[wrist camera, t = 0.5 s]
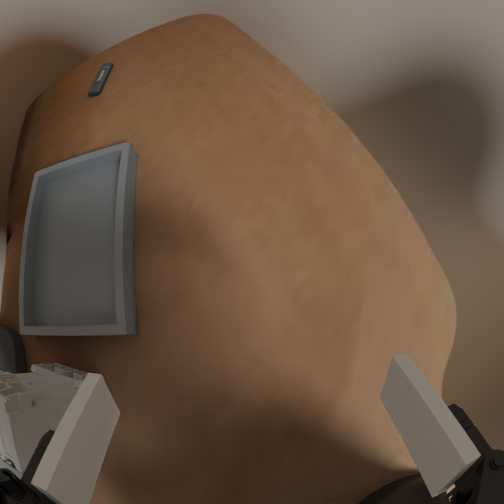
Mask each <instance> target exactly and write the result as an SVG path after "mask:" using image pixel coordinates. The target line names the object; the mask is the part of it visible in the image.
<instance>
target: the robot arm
mask: <svg viewBox="0 0 504 504" xmlns="http://www.w3.org/2000/svg"><path fill="white" fill-rule="evenodd" d="M380 398H381V400H382V402H383V404H384V405H385V407H386V409H387V411H388V413H389V414H390V416H391V418H392V420H393V422H394V424H395V426H396V427H397V429H398V431H399V433H400V435H401V437H402V439H403V441H404V442H405V444H406V446H407V448H408V450H409V452H410V454H411V456H412V458H413V460H414V462H415V464H416V466H417V468H418V470H419V472H420V474H421V475H415V476H410V477H406V478H403V479H400V480H398V481H395V482H393V483H391V484H389V485H387V486H385V487H383V488H381V489H380V490H378V491H376V492H375V493H373V494H372V495H370V496H369V497H368V498H366V499H365V500H364V501H362V502H361V503H360V504H504V451H502V450H499V449H498V450H493V449H492V448H491V447H490V446H489V445H488V443H487V442H486V440H485V439H484V438H483V436H482V435H481V434H480V432H479V431H478V429H477V428H476V427H475V426H474V425H473V423H472V421H471V420H470V419H469V417H468V416H467V415H466V413H465V412H464V410H463V409H461V408H460V407H458V406H457V405H455V404H452V405H450V406H448V407H447V406H446V404H445V403H444V402H443V400H442V399H441V397H440V396H439V395H438V393H437V392H436V391H435V389H434V388H433V387H432V386H431V384H430V383H429V382H428V380H427V379H426V378H425V376H424V375H423V374H422V373H421V371H420V370H419V369H418V367H417V366H416V365H415V364H414V362H413V361H412V360H411V359H410V357H409V356H408V355H407V354H406V353H405V354H401V355H397V356H393V357H392V361H391V364H390V367H389V371H388V374H387V377H386V380H385V383H384V386H383V389H382V392H381V395H380ZM119 416H120V411H119V409H118V407H117V405H116V403H115V401H114V399H113V397H112V395H111V393H110V391H109V389H108V387H107V385H106V383H105V381H104V378H103V376H102V374H95V373H88V374H87V376H86V378H85V379H84V381H83V383H82V384H81V386H80V388H79V389H78V391H77V393H76V395H75V396H74V398H73V400H72V402H71V403H70V405H69V407H68V409H67V411H66V412H65V414H64V416H63V418H62V420H61V422H60V424H59V425H58V427H57V429H56V431H53V430H49V431H48V432H46V433H45V434H44V435H43V436H42V438H41V440H40V441H39V443H38V447H36V449H35V451H34V454H33V455H32V457H31V459H30V461H29V463H28V465H27V467H26V469H25V472H24V474H23V476H22V477H21V479H19V478H18V477H17V476H16V475H15V474H14V473H13V472H12V471H11V470H9V469H7V468H1V469H0V504H90V501H91V498H92V494H93V491H94V488H95V485H96V482H97V478H98V475H99V472H100V469H101V466H102V463H103V460H104V457H105V455H106V452H107V449H108V446H109V443H110V440H111V438H112V435H113V432H114V429H115V427H116V424H117V421H118V419H119ZM453 484H455V486H456V487H455V488H454V489H452V490H451V491H450V492H449V493H448V494H447V492H446V490H447V489H448V488H449V487H450V486H452V485H453ZM451 495H452V497H451V498H449V497H450V496H451Z"/></svg>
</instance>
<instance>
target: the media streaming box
mask: <svg viewBox="0 0 504 504" xmlns="http://www.w3.org/2000/svg"><path fill="white" fill-rule="evenodd" d="M0 370H1V371H3V372H10V373H12V374H20V373H27V369H26V360H25V351H24V347H23V343H22V341H21V338H20V337H19V335H18V333H17V332H16V331H15V330H14V329H13V328H10V327H6V326H1V325H0Z"/></svg>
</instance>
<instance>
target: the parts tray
mask: <svg viewBox="0 0 504 504" xmlns="http://www.w3.org/2000/svg"><path fill="white" fill-rule="evenodd" d="M137 160H138V154H137V152H136V151H135V149H134V147H133V146H132V144H131V142H130V141H129V142H125V143H121V144H118V145H114V146H111V147H107V148H104V149H100V150H97V151H94V152H90V153H87V154H84V155H81V156H78V157H75V158H72V159H69V160H66V161H64V162H61V163H58V164H56V165H53V166H50V167H48V168H45V169H43V170H40V171H38V172H35V176H34V180H33V184H32V188H31V193H30V197H29V202H28V207H27V213H26V219H25V225H24V232H23V240H22V249H21V260H20V275H19V328H20V334H22V335H36V336H108V335H133V334H139V331H138V321H137V308H136V293H135V272H134V209H135V187H136V172H137Z"/></svg>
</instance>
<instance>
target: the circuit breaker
mask: <svg viewBox="0 0 504 504" xmlns="http://www.w3.org/2000/svg"><path fill="white" fill-rule="evenodd" d="M31 371H32V372H31V373H20V374H12V373H10V372H3V371H1V370H0V469H1V468H7V469H9V470H11V471H12V472H13V473H14V474H15V475H16V476H17V477H18V478H19V479H21V477H22V476H23V474H24V472H25V469H26V467H27V465H28V463H29V461H30V459H31V457H32V455H33V454H34V451H35V449H36V447H38V443H39V441H40V440H41V438H42V436H43V435H44V434H45V433H46V432H48V431H49V430H53V431H56V429H57V427H58V425H59V424H60V422H61V420H62V418H63V416H64V414H65V412H66V411H67V409H68V407H69V405H70V403H71V402H72V400H73V398H74V396H75V395H76V393H77V391H78V389H79V388H80V386H81V384H82V383H83V381H84V379H85V378H86V376H87V374H88V372H85V371H81V370H77V369H74V368H71V367H67V366H64V365H61V364H58V363H54V364H48V363H47V364H32V366H31ZM103 378H104V376H103Z"/></svg>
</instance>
